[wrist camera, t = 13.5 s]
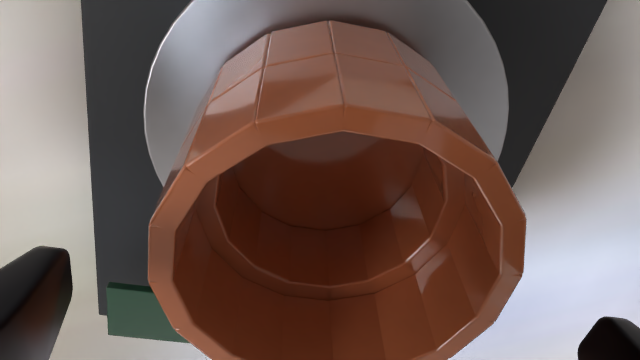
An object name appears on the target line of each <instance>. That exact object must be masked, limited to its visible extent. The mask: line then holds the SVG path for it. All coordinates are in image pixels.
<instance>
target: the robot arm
mask: <svg viewBox="0 0 640 360" xmlns="http://www.w3.org/2000/svg"><path fill="white" fill-rule="evenodd" d="M72 290H73V285H72V275H71V265H70V256H69V253H68V251H67V250H65V249H63V248H55V247H47V246H38V247H35V248H33V249H32V250H30V251H28V252H27V253H25V254H23V255H22V256H20V257H19V258H17V259H15V260H14V261H12V262H10V263H9V264H7V265H6V266H4V267H2V268H1V269H0V360H49V358H50V355H51V352H52V350H53V347H54V344H55V342H56V339H57V336H58V334H59V331H60V328H61V325H62V323H63V320H64V317H65V315H66V312H67V309H68V307H69V304H70V301H71V297H72ZM578 360H640V328H639V327H637V326H636V325H635V324H633V323H632V322H630V321H629V320H627V319H623V318H616V317H607V316H606V317H602V318H600V319H599V320H598V321H597V322H596V323H595V325H594V326H593V327H592V329H591V330H590V331H589V333H588V334H587V335H586V337H585V338H584V339H583V340H582V342H581V343H580V345H579V348H578Z"/></svg>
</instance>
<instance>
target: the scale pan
mask: <svg viewBox="0 0 640 360" xmlns="http://www.w3.org/2000/svg"><path fill="white" fill-rule="evenodd" d="M330 20H333V21H338V22H343V23H348V24H353V25H358V26H363V27H368V28H373V29H378V30H382V31H386V32H388V33H390V34H392V35H393V36H394V37H396V38H397V39H399V40H400V41H401V42H403V43H404V44H406V45H407V46H408V47H410V48H411V49H413V50H414V51H415V52H417V53H418V54H420V55H421V56H422V57H424V58H425V59H427V60H428V61H429V62H431V64H432V65H433V66H434V68H435V69H436V71H437V72H438V74H439V75H440V77H441V78H442V80H443V81H444V83H445V84H446V86H447V87H448V89H449V90H450V92H451V93H452V95H453V96H454V98H455V99H456V101H457V102H458V104H459V105H460V106H461V108H462V109H463V111H464V112H465V114H466V115H467V117H468V118H469V120H470V121H471V123H472V124H473V126H474V127H475V129H476V130H477V132H478V133H479V135H480V136H481V138H482V139H483V141H484V142H485V144H486V145H487V147H488V148H489V150H490V151H491V153H492V154H493V156H494V157H495V159H496V160H497V161H498V159H499V156H500V154H501V151H502V147H503V143H504V139H505V135H506V131H507V122H508V112H509V100H508V84H507V79H506V74H505V69H504V64H503V62H502V59H501V56H500V53H499V51H498V48H497V45H496V42H495V41H494V39H493V37H492V35H491V33H490V32H489V30H488V28H487V26H486V24H485V23H484V21H483V20H482V18H481V17H480V16H479V15H478V13H477V12H476V11H475V9H474V8H473V7H472V6H471V4H470V3H469V2H468V1H467V0H191V1H190V2H189V3H188V4H187V6H186V7H185V8H184V9H183V10H182V12H181V13H180V14H179V15H178V16H177V18H176V19H175V20H174V21H173V23H172V24H171V26H170V28H169V29H168V31H167V33H166V34H165V36H164V38H163V39H162V41H161V43H160V45H159V47H158V50H157V52H156V54H155V57H154V59H153V62H152V64H151V67H150V71H149V75H148V79H147V83H146V88H145V97H144V109H143V114H144V130H145V137H146V141H147V146H148V151H149V155H150V157H151V160H152V163H153V166H154V168H155V171H156V174H157V176H158V178H159V180H160V181H161V183H162V185H163V187H164V186H165V183H166V181H167V178H168V176H169V174H170V171H171V169H172V167H173V164H174V162H175V159H176V157H177V155H178V153H179V151H180V148H181V146H182V143H183V141H184V138H185V136H186V134H187V131H188V129H189V127H190V124H191V122H192V119H193V117H194V115H195V112H196V110H197V108H198V106H199V104H200V102H201V101H202V99H203V97H204V95H205V94H206V92H207V90H208V89H209V87H210V85H211V83H212V82H213V80H214V78H215V77H216V75H217V73H218V72H219V70H220V68H221V67H223V66H224V64H225V63H226V62H227V61H229V60H230V59H232V58H233V57H234V56H236V55H237V54H239V53H240V52H242V51H243V50H244V49H246V48H247V47H249V46H250V45H252V44H253V43H254V42H256V41H257V40H259V39H260V38H262V37H263V36H265V35H266V34H271V32H273V31H278V30H283V29H287V28H292V27H297V26H302V25H307V24H312V23H317V22H322V21H328V22H329V21H330ZM106 295H107V318H108V335H114V336H124V337H134V338H144V339H153V340H163V341H173V342H183V343H190V342H188V341H187V340H186V339H185V338H183V337H182V336H181V335H180V334H178V333H177V332H176V331H175V329H173V327H172V325H171V324H170V322H169V320H168V318H167V316H166V314H165V313H164V311H163V309H162V307H161V305H160V303H159V301H158V300H157V298H156V296H155V294H154V292H153V290H152V289H151V287H150V286H142V285H134V284H125V283H117V282H109V283H108V285H107V287H106Z"/></svg>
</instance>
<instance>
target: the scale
mask: <svg viewBox="0 0 640 360" xmlns="http://www.w3.org/2000/svg"><path fill="white" fill-rule="evenodd" d="M190 1H191V0H81V10H82V28H83V45H84V62H85V79H86V97H87V114H88V131H89V149H90V166H91V183H92V200H93V218H94V235H95V252H96V270H97V287H98V304H99V314H100V315H107V295H106V287H107V285H108V283H109V282H117V283H125V284H134V285H142V286H150V285H149V281H148V225H149V223H150V219H151V217H152V214H153V212H154V209H155V207H156V205H157V202H158V200H159V198H160V195H161V193H162V190H163V188H164V187H163V185H162V183H161V181H160V180H159V178H158V176H157V174H156V171H155V168H154V166H153V163H152V160H151V157H150V155H149V151H148V146H147V141H146V137H145V130H144V114H143V109H144V97H145V88H146V83H147V79H148V75H149V71H150V67H151V64H152V62H153V59H154V57H155V54H156V52H157V50H158V47H159V45H160V43H161V41H162V39H163V38H164V36H165V34H166V33H167V31H168V29H169V28H170V26H171V24H172V23H173V21H174V20H175V19H176V18H177V16H178V15H179V14H180V13H181V12H182V10H183V9H184V8H185V7H186V6H187V4H188V3H189V2H190ZM467 1H468V2H469V3H470V4H471V6H472V7H473V8H474V9H475V11H476V12H477V13H478V15H479V16H480V17H481V18H482V20H483V21H484V23H485V24H486V26H487V28H488V30H489V32H490V33H491V35H492V37H493V39H494V41H495V42H496V45H497V48H498V51H499V53H500V56H501V59H502V62H503V64H504V69H505V74H506V79H507V84H508V100H509V112H508V122H507V131H506V135H505V139H504V143H503V147H502V151H501V154H500V156H499V159H498V161H497V162H498V163H499V165H500V167H501V169H502V171H503V173H504V175H505V177H506V178H507V180H508V182H509V184H510V186H511V188H512V187H513V185H514V183H515V181H516V180H517V178H518V176H519V174H520V172H521V170H522V168H523V166H524V164H525V162H526V160H527V158H528V156H529V154H530V152H531V150H532V148H533V146H534V144H535V142H536V140H537V138H538V136H539V134H540V132H541V130H542V128H543V126H544V124H545V122H546V120H547V118H548V116H549V115H550V113H551V111H552V109H553V107H554V105H555V103H556V101H557V99H558V97H559V95H560V93H561V91H562V89H563V87H564V85H565V83H566V81H567V79H568V77H569V75H570V73H571V71H572V69H573V67H574V65H575V63H576V61H577V59H578V57H579V55H580V53H581V51H582V50H583V48H584V46H585V44H586V42H587V40H588V38H589V36H590V34H591V32H592V30H593V28H594V26H595V24H596V22H597V20H598V18H599V16H600V14H601V12H602V10H603V8H604V6H605V4H606V2H607V0H467Z"/></svg>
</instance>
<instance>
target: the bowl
mask: <svg viewBox="0 0 640 360" xmlns="http://www.w3.org/2000/svg"><path fill="white" fill-rule="evenodd" d="M525 235H526V217H525V212H524V210H523V209H522V207H521V205H520V203H519V201H518V199H517V197H516V195H515V194H514V192H513V190H512V188H511V186H510V184H509V182H508V180H507V178H506V177H505V175H504V173H503V171H502V169H501V167H500V165H499V163H498V162H497V160H496V159H495V157H494V156H493V154H492V153H491V151H490V150H489V148H488V147H487V145H486V144H485V142H484V141H483V139H482V138H481V136H480V135H479V133H478V132H477V130H476V129H475V127H474V126H473V124H472V123H471V121H470V120H469V118H468V117H467V115H466V114H465V112H464V111H463V109H462V108H461V106H460V105H459V104H458V102H457V101H456V99H455V98H454V96H453V95H452V93H451V92H450V90H449V89H448V87H447V86H446V84H445V83H444V81H443V80H442V78H441V77H440V75H439V74H438V72H437V71H436V69H435V68H434V66H433V65H432V64H431V62H429V61H428V60H427V59H425V58H424V57H422V56H421V55H420V54H418V53H417V52H415V51H414V50H413V49H411V48H410V47H408V46H407V45H406V44H404V43H403V42H401V41H400V40H399V39H397V38H396V37H394V36H393V35H392V34H390V33H388V32H386V31H382V30H378V29H373V28H368V27H363V26H358V25H353V24H348V23H343V22H338V21H333V20H330V21H329V22H328V21H322V22H317V23H312V24H307V25H302V26H297V27H292V28H287V29H283V30H278V31H273V32H271V34H266V35H265V36H263V37H262V38H260V39H259V40H257V41H256V42H254V43H253V44H252V45H250V46H249V47H247V48H246V49H244V50H243V51H242V52H240V53H239V54H237V55H236V56H234V57H233V58H232V59H230V60H229V61H227V62H226V63H225V64H224V66H223V67H221V68H220V70H219V72H218V73H217V75H216V77H215V78H214V80H213V82H212V83H211V85H210V87H209V89H208V90H207V92H206V94H205V95H204V97H203V99H202V101H201V102H200V104H199V106H198V108H197V110H196V112H195V115H194V117H193V119H192V122H191V124H190V127H189V129H188V131H187V134H186V136H185V138H184V141H183V143H182V146H181V148H180V151H179V153H178V155H177V157H176V159H175V162H174V164H173V167H172V169H171V171H170V174H169V176H168V178H167V181H166V183H165V186H164V188H163V190H162V193H161V195H160V198H159V200H158V202H157V205H156V207H155V209H154V212H153V214H152V217H151V219H150V223H149V225H148V281H149V285H150V287H151V289H152V290H153V292H154V294H155V296H156V298H157V300H158V301H159V303H160V305H161V307H162V309H163V311H164V313H165V314H166V316H167V318H168V320H169V322H170V324H171V325H172V327H173V329H175V331H176V332H177V333H178V334H180V335H181V336H182V337H183V338H185V339H186V340H187V341H188V342H190V343H191V344H192V345H194V346H195V347H196V348H197V349H199V350H200V351H201V352H203V353H204V354H205V355H206V356H208V357H209V358H210V359H212V360H447V359H448V358H451V357H453V356H454V355H455V354H456V353H458V352H459V351H460V350H461V349H463V348H464V347H465V346H466V345H468V344H469V343H470V342H471V341H473V340H474V339H475V338H476V337H478V336H479V335H480V334H481V333H483V332H484V331H485V330H486V329H487V328H489V327H490V326H491V325H492V324H493V323H494V322H495V321H496V320H497V318H498V316H499V315H500V313H501V311H502V309H503V308H504V306H505V304H506V303H507V301H508V299H509V298H510V296H511V294H512V292H513V291H514V289H515V287H516V286H517V284H518V282H519V281H520V279H521V277H522V273H523V270H524V253H525Z"/></svg>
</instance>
